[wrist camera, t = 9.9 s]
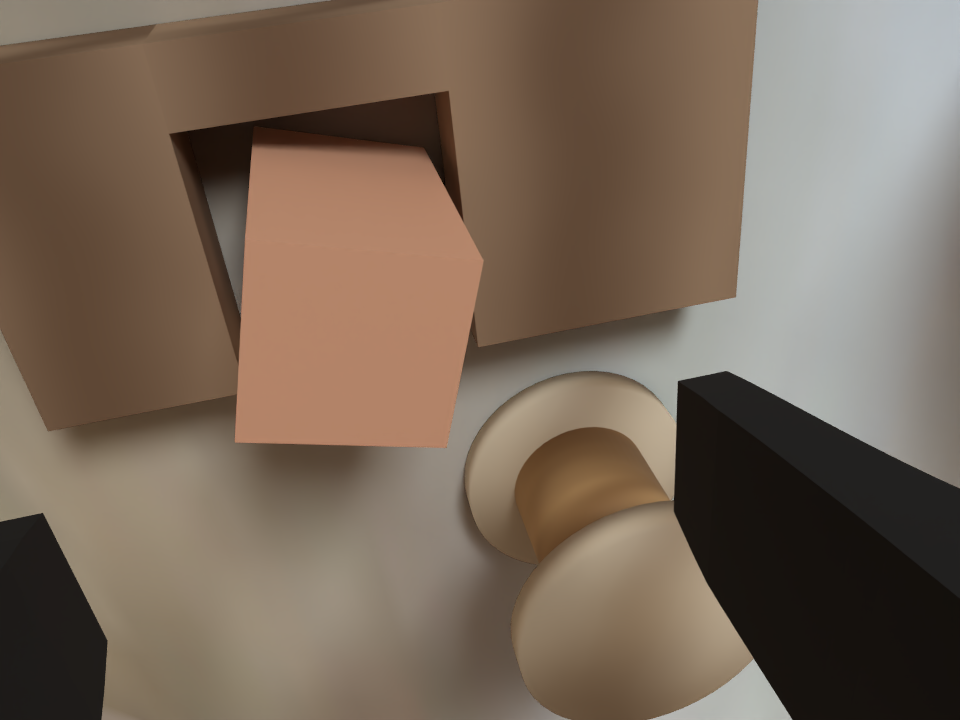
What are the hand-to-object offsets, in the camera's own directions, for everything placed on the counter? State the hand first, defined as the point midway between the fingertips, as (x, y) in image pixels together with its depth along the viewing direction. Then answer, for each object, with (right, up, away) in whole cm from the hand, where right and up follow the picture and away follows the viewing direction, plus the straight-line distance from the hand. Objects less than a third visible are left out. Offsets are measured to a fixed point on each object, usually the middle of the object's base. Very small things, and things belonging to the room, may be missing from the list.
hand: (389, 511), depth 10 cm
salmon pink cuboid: (-2, +5, +8) cm, 10 cm away
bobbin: (+4, -1, +13) cm, 14 cm away
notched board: (-1, +6, +8) cm, 10 cm away
